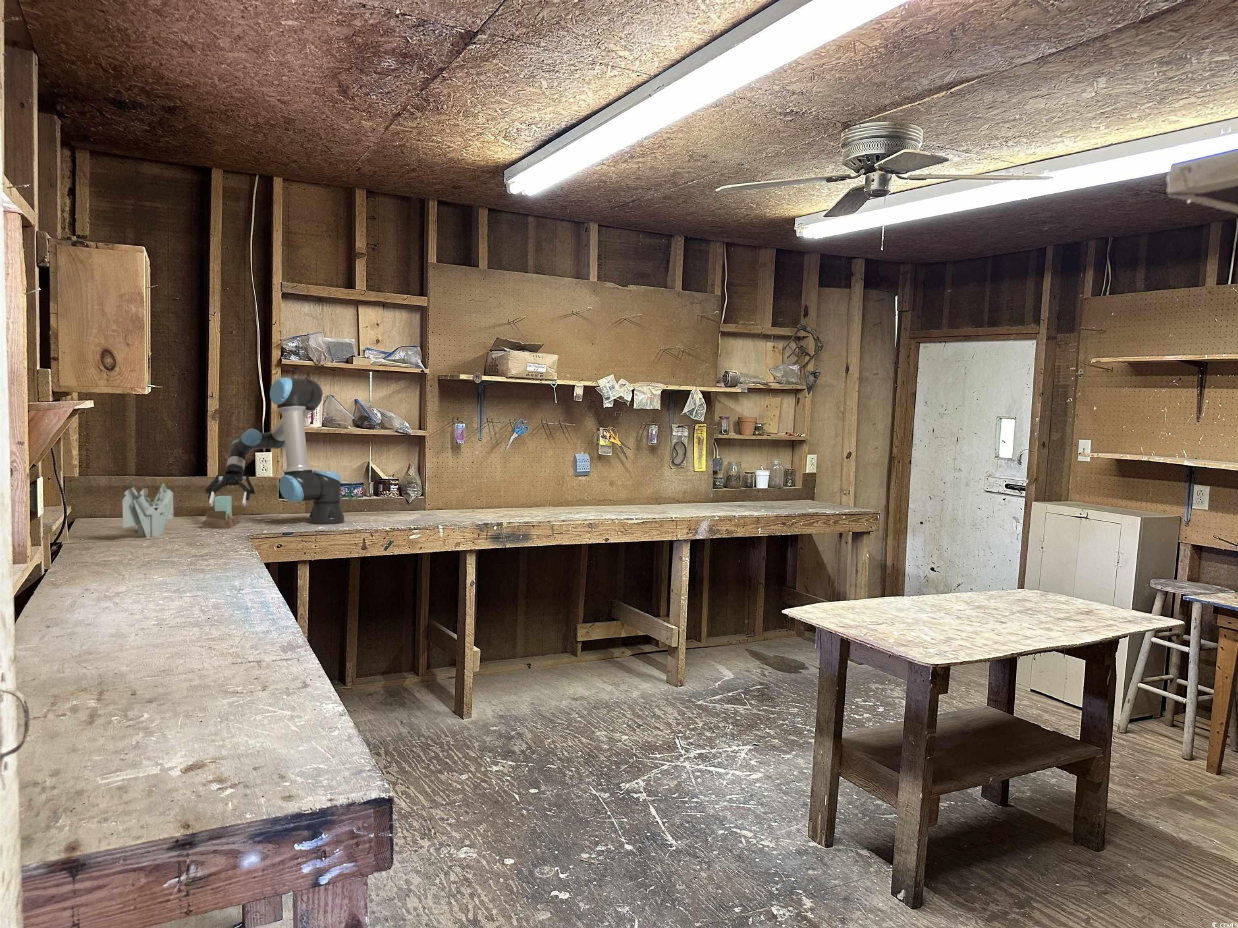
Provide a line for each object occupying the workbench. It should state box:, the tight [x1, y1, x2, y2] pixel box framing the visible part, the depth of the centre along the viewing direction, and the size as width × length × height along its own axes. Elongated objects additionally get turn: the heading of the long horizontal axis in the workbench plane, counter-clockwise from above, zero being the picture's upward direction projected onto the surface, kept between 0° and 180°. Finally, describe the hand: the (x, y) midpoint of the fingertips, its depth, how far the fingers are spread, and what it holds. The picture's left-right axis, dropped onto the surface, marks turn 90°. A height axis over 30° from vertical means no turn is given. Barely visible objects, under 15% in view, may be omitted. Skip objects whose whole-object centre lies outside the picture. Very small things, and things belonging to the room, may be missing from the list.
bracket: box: [121, 483, 174, 538], centre depth 320 cm, size 28×7×20 cm, turn 171°
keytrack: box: [201, 510, 240, 529], centre depth 351 cm, size 15×11×7 cm
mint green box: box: [214, 495, 233, 520], centre depth 354 cm, size 7×5×11 cm
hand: (227, 505), depth 362 cm, fingers open, 13 cm apart
